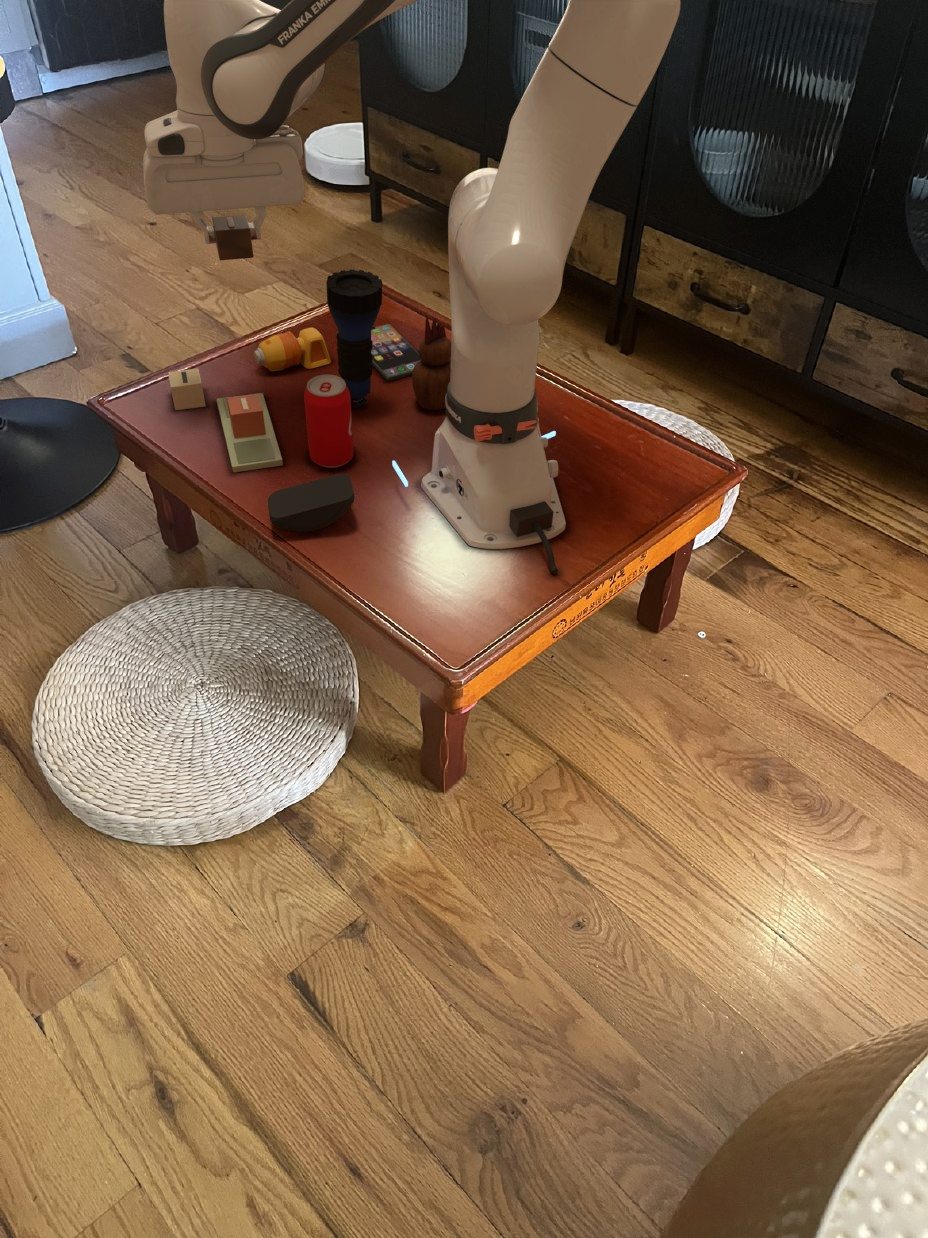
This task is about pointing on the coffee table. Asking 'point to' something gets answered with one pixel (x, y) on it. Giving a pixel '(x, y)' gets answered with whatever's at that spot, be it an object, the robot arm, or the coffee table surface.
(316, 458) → the beverage can
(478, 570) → the coffee table surface
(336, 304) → the flashlight
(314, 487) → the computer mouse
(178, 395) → the letter i block
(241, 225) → the brown box with stripe
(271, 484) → the coffee table surface
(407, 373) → the smartphone
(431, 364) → the wooden figurine
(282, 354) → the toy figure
